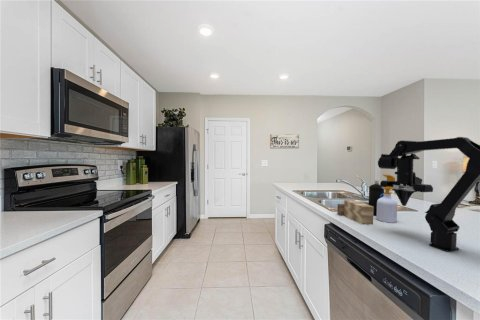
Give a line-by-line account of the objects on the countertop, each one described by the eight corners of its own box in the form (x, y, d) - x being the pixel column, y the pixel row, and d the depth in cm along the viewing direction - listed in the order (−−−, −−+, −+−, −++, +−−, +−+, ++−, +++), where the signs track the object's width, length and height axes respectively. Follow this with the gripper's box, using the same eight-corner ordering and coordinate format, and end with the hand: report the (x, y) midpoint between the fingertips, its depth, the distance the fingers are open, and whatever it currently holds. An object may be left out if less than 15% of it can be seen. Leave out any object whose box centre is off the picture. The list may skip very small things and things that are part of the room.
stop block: (356, 215, 131) (357, 205, 131) (340, 215, 130) (340, 205, 130) (353, 214, 134) (353, 204, 134) (337, 214, 133) (337, 204, 133)
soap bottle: (372, 219, 124) (374, 174, 124) (383, 217, 128) (385, 173, 128) (389, 223, 116) (391, 175, 116) (400, 221, 120) (402, 175, 119)
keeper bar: (373, 224, 115) (373, 206, 115) (361, 224, 114) (362, 206, 114) (353, 215, 131) (354, 200, 131) (343, 216, 130) (344, 200, 130)
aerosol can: (367, 215, 133) (369, 180, 132) (367, 212, 140) (368, 179, 140) (384, 217, 129) (385, 181, 129) (383, 213, 136) (384, 180, 136)
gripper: (441, 171, 93) (440, 209, 93) (396, 168, 110) (395, 200, 110) (424, 171, 89) (423, 211, 89) (379, 168, 106) (378, 202, 106)
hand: (404, 205), depth 99 cm, fingers closed
